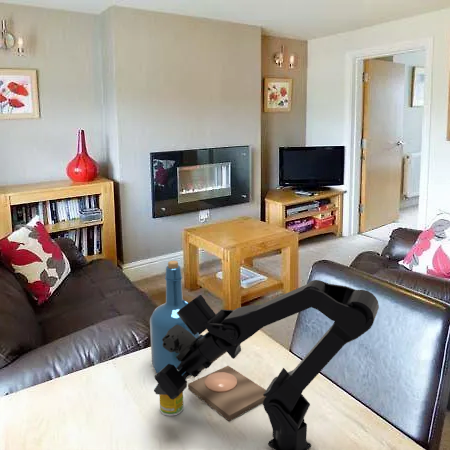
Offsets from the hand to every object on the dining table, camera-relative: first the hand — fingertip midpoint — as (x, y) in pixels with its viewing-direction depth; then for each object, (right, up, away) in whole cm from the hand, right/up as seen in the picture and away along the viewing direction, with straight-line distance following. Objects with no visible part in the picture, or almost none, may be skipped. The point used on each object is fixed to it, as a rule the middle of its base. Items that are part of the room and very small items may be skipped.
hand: (166, 381), depth 106 cm
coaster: (+12, -3, +9) cm, 16 cm away
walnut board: (+14, -5, +7) cm, 17 cm away
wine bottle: (0, -3, +19) cm, 19 cm away
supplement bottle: (+1, -7, +1) cm, 7 cm away
